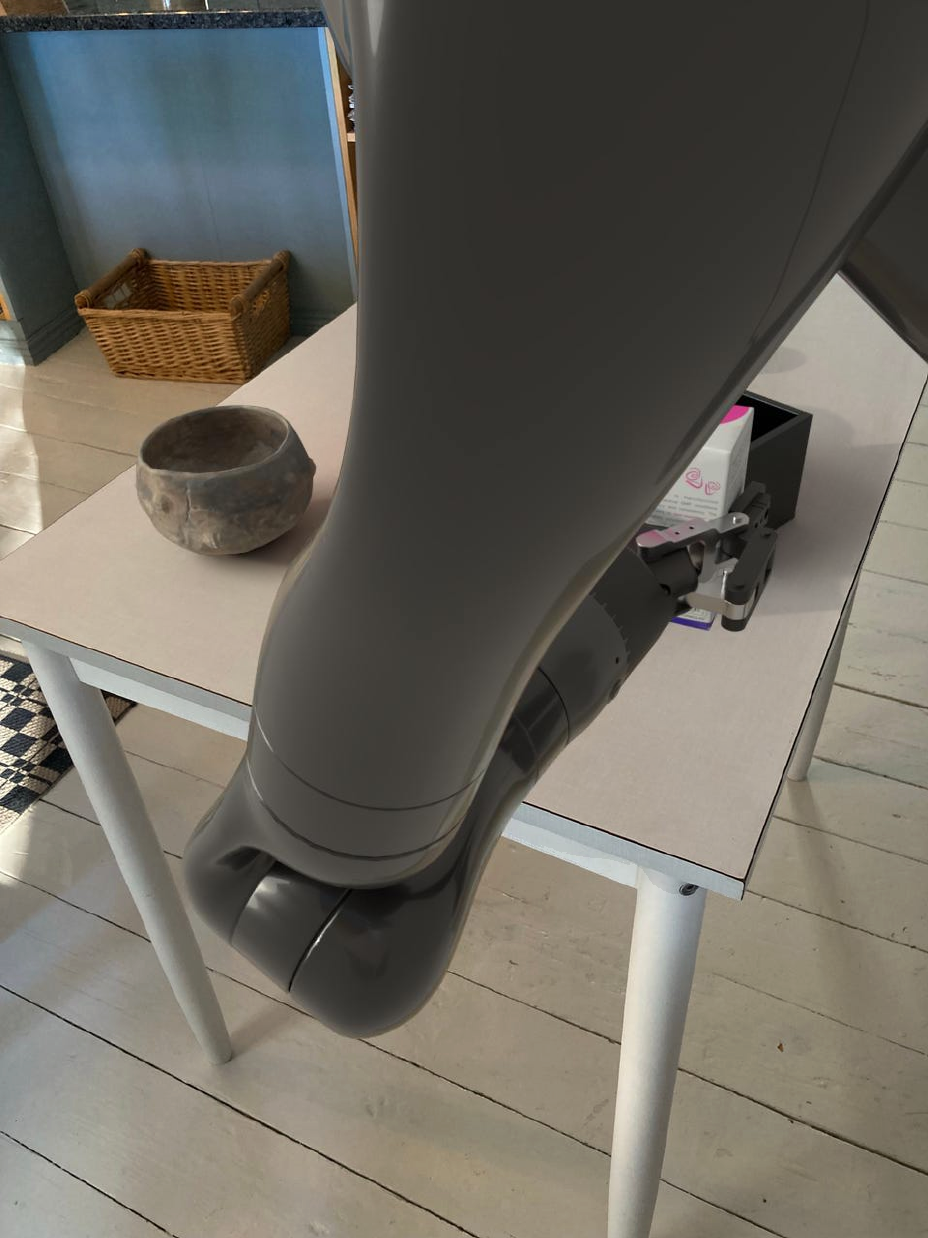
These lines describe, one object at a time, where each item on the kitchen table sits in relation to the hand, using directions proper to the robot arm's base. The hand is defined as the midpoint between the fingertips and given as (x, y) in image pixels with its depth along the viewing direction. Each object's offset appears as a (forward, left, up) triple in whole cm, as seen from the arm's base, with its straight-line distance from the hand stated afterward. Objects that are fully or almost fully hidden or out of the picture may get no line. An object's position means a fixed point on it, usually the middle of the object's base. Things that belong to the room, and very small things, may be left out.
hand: (699, 481), depth 57 cm
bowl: (+42, +10, -19) cm, 47 cm away
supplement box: (-1, +2, -7) cm, 7 cm away
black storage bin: (+16, -19, -19) cm, 31 cm away
